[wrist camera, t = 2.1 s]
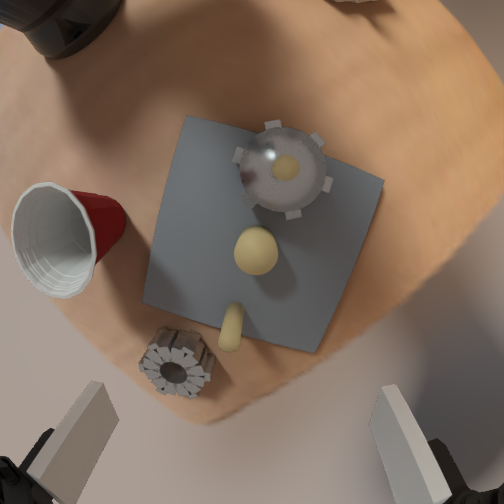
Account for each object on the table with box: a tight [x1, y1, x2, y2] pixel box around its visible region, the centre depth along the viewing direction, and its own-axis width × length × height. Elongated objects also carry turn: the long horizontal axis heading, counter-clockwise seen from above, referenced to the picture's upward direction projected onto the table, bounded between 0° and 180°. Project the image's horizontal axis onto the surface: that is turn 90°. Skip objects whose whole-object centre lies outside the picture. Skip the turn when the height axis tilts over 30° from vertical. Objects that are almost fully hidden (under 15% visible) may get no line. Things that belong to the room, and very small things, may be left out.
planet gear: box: [138, 327, 215, 399], centre depth 33 cm, size 9×9×4 cm
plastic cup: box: [11, 182, 126, 299], centre depth 25 cm, size 11×11×12 cm
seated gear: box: [232, 119, 333, 220], centre depth 26 cm, size 9×8×4 cm
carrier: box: [142, 115, 385, 353], centre depth 27 cm, size 22×22×8 cm
